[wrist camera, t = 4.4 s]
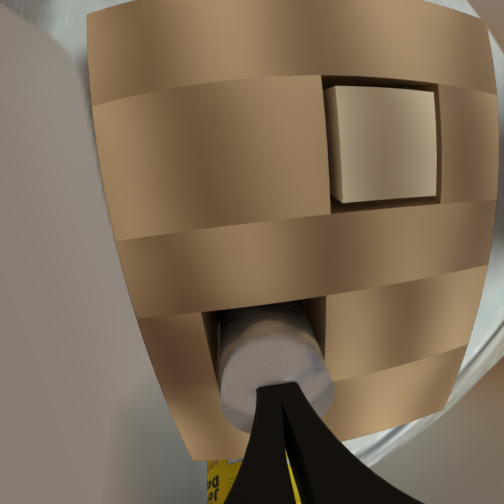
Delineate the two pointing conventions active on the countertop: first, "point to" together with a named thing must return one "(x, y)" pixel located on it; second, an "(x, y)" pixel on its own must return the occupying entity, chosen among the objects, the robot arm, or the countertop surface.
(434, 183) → the peg maple
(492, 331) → the countertop surface
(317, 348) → the peg steel
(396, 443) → the countertop surface
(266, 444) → the robot arm
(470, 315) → the oak block
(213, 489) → the supplement bottle
